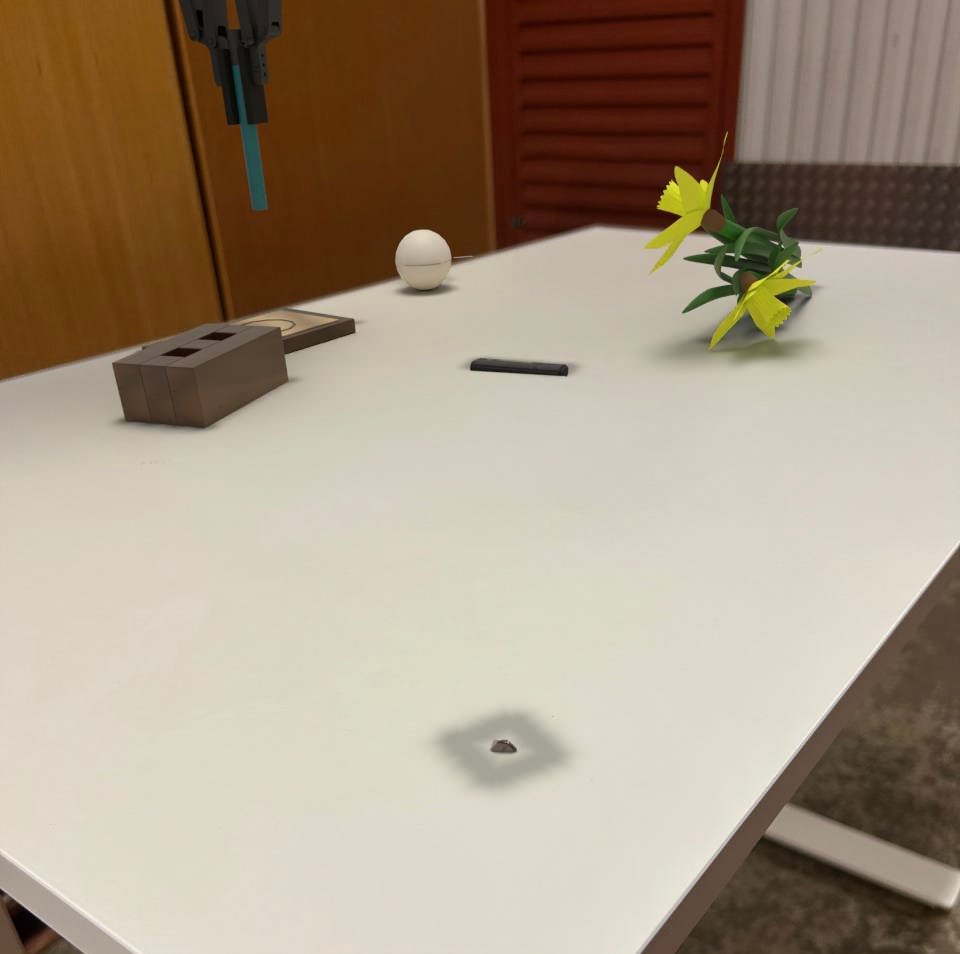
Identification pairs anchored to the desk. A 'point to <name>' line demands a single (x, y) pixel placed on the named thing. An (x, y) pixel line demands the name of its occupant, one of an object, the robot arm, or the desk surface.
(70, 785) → the desk surface
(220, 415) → the pen block
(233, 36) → the pen
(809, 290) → the daffodil flowers
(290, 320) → the picture frame
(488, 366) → the usb stick
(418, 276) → the seamed sphere
